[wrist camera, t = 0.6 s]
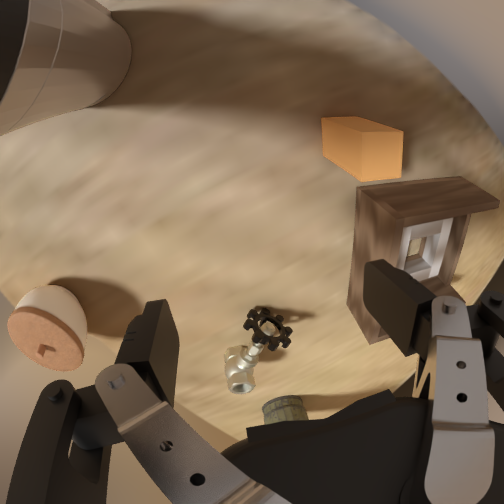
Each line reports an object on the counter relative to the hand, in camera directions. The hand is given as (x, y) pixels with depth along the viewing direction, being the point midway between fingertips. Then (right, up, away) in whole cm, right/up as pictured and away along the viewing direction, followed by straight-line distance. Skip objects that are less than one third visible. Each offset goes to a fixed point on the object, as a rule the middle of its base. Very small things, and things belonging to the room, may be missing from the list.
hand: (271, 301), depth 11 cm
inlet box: (+21, +3, +24) cm, 32 cm away
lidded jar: (-26, -5, +21) cm, 34 cm away
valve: (-2, -10, +29) cm, 31 cm away
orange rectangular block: (+8, +14, +15) cm, 22 cm away
